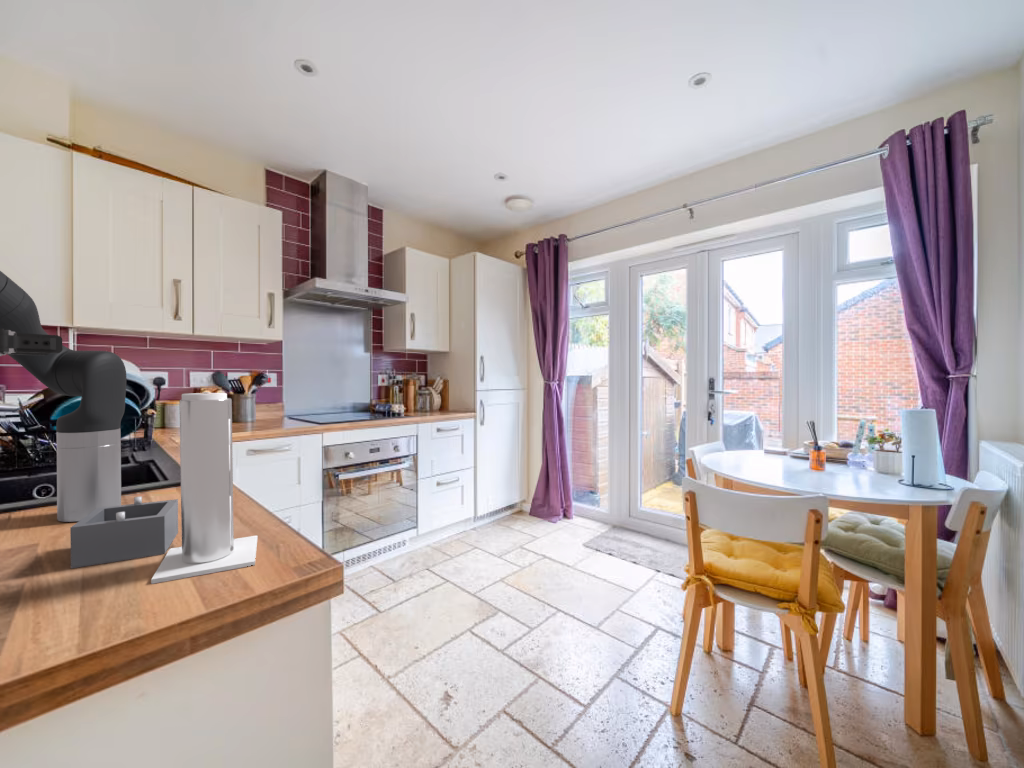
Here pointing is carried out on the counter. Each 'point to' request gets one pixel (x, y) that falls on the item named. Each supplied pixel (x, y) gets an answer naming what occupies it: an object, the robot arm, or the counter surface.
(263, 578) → the counter surface
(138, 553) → the housing collar
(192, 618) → the counter surface
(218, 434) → the silver metal canister
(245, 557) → the rubber mat
